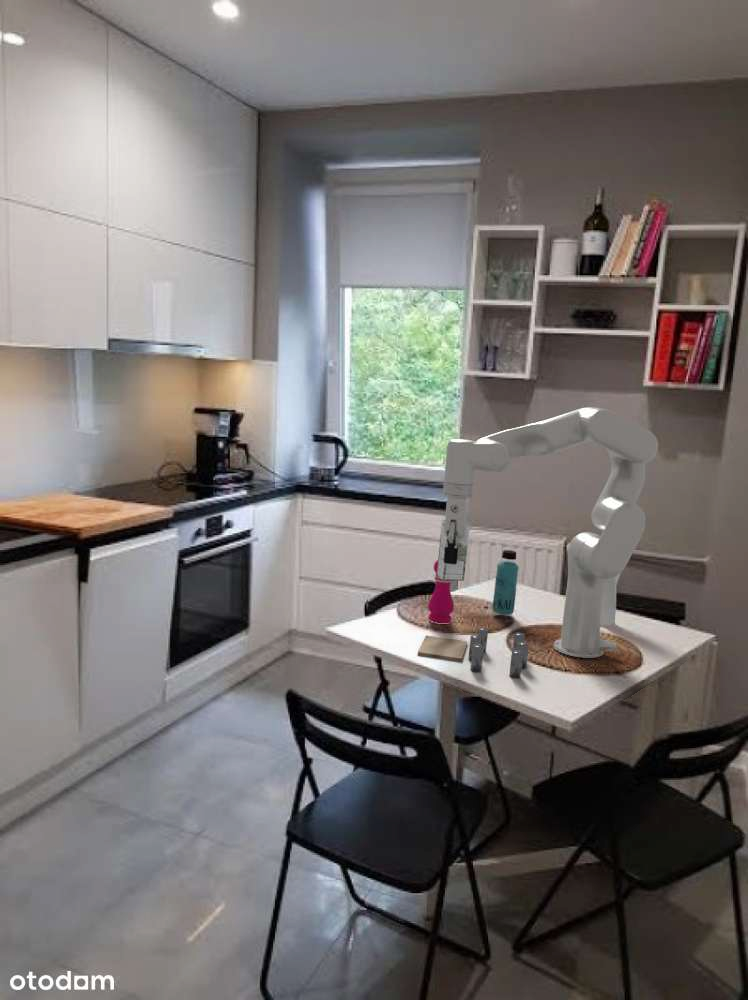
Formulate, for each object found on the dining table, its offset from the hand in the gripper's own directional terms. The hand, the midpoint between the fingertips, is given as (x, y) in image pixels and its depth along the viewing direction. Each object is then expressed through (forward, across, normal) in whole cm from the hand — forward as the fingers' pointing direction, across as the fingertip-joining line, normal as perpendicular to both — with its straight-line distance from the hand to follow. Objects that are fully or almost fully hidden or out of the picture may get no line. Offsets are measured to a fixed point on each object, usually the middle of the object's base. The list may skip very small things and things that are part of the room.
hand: (452, 559), depth 189 cm
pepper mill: (+24, +22, +4) cm, 33 cm away
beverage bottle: (+24, +35, -13) cm, 44 cm away
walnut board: (+24, 0, 0) cm, 24 cm away
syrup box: (+5, 0, 0) cm, 5 cm away
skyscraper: (+24, +42, -42) cm, 64 cm away
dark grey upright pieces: (+24, -4, -14) cm, 28 cm away
